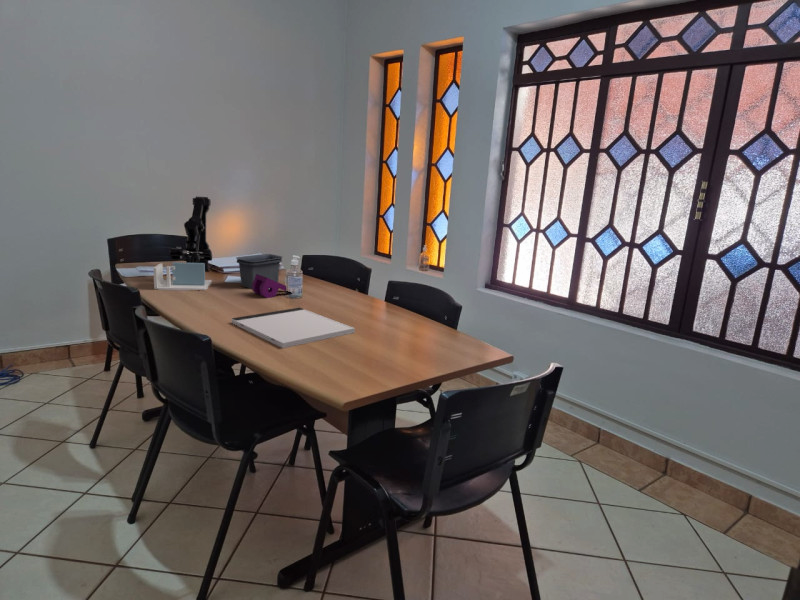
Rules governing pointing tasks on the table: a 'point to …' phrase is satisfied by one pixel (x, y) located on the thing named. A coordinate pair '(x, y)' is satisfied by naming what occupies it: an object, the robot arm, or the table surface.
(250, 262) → the storage bin
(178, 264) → the door panel
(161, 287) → the cabinet base
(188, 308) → the table surface
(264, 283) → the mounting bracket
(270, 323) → the white flat slab
